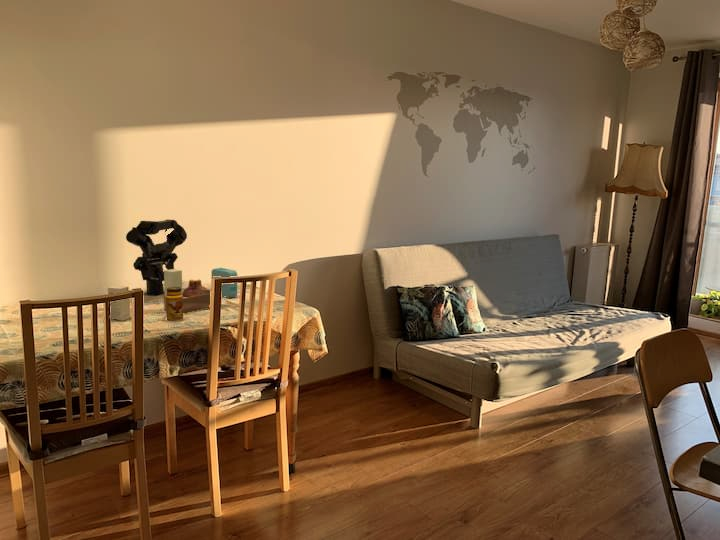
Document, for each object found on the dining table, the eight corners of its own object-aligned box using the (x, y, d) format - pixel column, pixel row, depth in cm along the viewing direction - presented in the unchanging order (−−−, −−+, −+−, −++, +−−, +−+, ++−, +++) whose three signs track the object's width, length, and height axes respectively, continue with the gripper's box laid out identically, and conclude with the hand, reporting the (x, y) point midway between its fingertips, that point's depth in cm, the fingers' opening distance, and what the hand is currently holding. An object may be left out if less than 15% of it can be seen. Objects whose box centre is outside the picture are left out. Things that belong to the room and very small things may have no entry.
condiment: (176, 322, 217) (176, 290, 215) (157, 320, 219) (156, 288, 217) (188, 317, 224) (187, 287, 221) (169, 315, 226) (168, 285, 224)
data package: (237, 297, 260) (237, 270, 258) (229, 298, 257) (229, 272, 255) (219, 293, 267) (219, 267, 265) (211, 294, 263) (211, 268, 261)
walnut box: (164, 310, 234) (163, 295, 233) (202, 302, 249) (202, 288, 248) (180, 314, 228) (180, 299, 227) (218, 306, 243) (218, 291, 242)
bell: (176, 297, 258) (176, 280, 256) (192, 291, 269) (191, 276, 268) (199, 299, 254) (199, 283, 253) (214, 294, 266) (214, 278, 264)
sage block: (164, 303, 244) (164, 270, 242) (175, 301, 248) (174, 269, 246) (172, 305, 242) (171, 272, 239) (182, 303, 246) (181, 270, 243)
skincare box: (130, 318, 220) (129, 286, 218) (122, 321, 216) (121, 288, 214) (116, 316, 222) (115, 284, 220) (108, 319, 218) (107, 286, 216)
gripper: (136, 237, 239) (153, 267, 234) (174, 234, 254) (191, 262, 249) (125, 254, 245) (142, 284, 240) (163, 250, 260) (180, 278, 255)
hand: (165, 276), depth 246 cm, fingers open, 9 cm apart
